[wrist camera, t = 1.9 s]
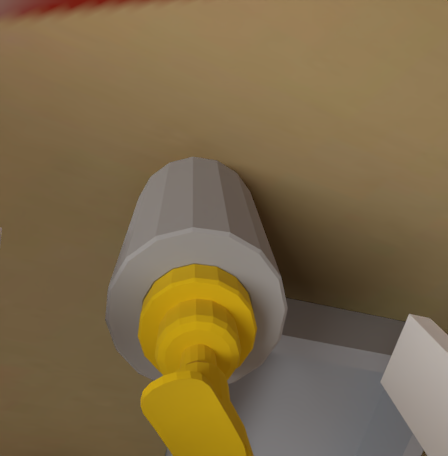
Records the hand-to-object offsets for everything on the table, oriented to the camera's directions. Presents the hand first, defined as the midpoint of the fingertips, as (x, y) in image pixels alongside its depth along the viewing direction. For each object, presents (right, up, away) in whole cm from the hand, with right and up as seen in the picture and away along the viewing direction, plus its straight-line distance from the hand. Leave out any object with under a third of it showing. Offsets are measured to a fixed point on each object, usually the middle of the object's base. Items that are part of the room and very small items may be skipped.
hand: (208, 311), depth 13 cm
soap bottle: (-1, +4, +12) cm, 13 cm away
